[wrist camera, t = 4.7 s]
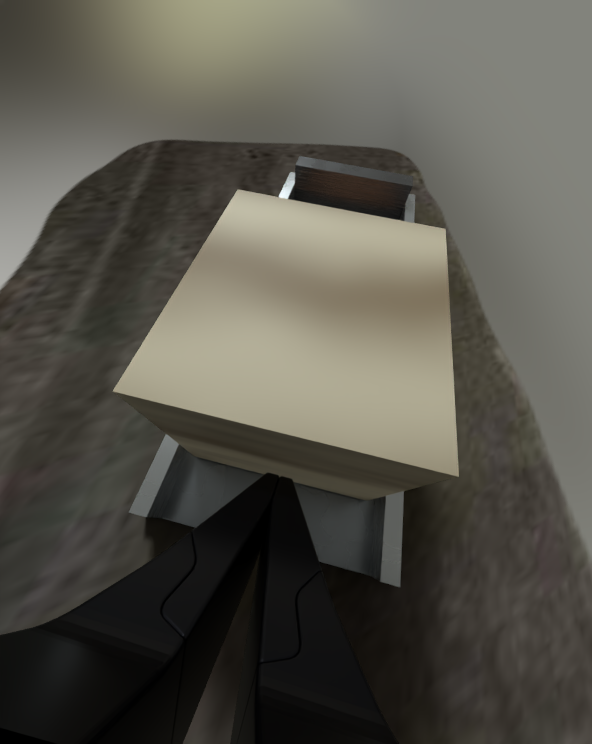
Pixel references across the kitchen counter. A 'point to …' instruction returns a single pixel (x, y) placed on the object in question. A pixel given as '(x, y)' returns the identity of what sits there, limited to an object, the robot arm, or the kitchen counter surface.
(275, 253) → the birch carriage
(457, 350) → the kitchen counter surface
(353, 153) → the kitchen counter surface
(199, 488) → the graphite track
